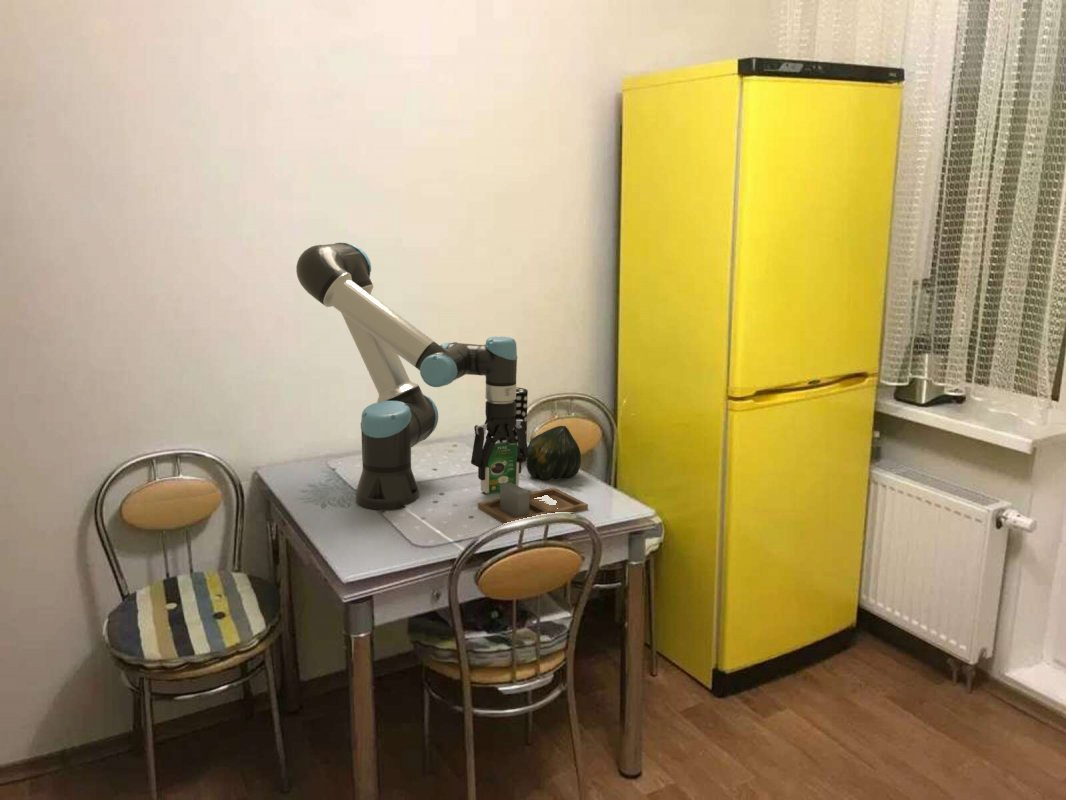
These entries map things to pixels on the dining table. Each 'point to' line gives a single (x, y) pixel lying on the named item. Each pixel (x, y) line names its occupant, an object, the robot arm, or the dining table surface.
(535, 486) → the dining table surface
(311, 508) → the dining table surface
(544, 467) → the squash
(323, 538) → the dining table surface
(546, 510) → the tray
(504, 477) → the coffee box
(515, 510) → the block
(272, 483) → the dining table surface
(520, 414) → the white-spotted black cylinder
